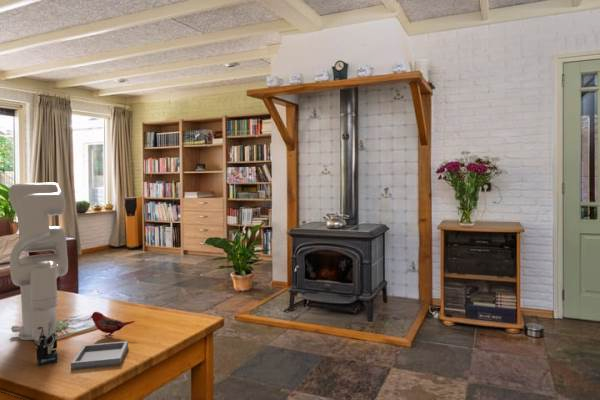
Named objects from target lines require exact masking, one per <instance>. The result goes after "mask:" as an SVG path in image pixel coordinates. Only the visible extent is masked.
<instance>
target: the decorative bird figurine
mask: <svg viewBox="0 0 600 400" xmlns="http://www.w3.org/2000/svg"><path fill="white" fill-rule="evenodd" d="M89 318H91V319H92V321H93V323H94V326H95V327H96V328H97V330H98V331H100V332H102V333H105V334H103V335H101V337H106V338H108V337H111V338H112V337H115V335H114V333H115V332H117V331H120V330H121V329H122V328H124V327H126V326H127V325H130V324H133V323H135V322H136V321H135V320H132V321H126V322H122V321H121V320H117V319H115V318H111V317H108V316H105V315H104V314H103V313H101V312H99V311H94V312H93V313H92V314H91V316H89Z"/></svg>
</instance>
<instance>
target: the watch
mask: <svg viewBox="0 0 600 400" xmlns="http://www.w3.org/2000/svg"><path fill="white" fill-rule="evenodd" d="M44 337H45V336H43V337H41V338H44ZM56 337H57V336H54V334H53V333H52V335H51V336H50V337H49V338H48V339H47V345H46V347H47V346H48V358H47V359H42V360H37V367H38V368H39V367H45V366H47V365H53V364H57V363H58V352H57V348H56V349H51V348H53V345H54V342H55V340H57V341H58V337H57V338H56ZM41 341H42V342H43V343H44V340H41Z"/></svg>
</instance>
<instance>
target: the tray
mask: <svg viewBox="0 0 600 400" xmlns="http://www.w3.org/2000/svg"><path fill="white" fill-rule="evenodd" d="M128 350H129V341H115V342H114V341H113V342H105V343H91V344H83V345H82V347H80V349H79V351H78V352H77V354H76V355H75V356H74V358H72V361H71V362H70V370H71V371H77V370H79V371H80V370H88V368H89V369H97V368H98V369H99V368H108V367H118V366H122V363H123V361H124V358H125V356H126V355H127V352H128Z"/></svg>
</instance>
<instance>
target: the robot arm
mask: <svg viewBox="0 0 600 400" xmlns="http://www.w3.org/2000/svg"><path fill="white" fill-rule="evenodd" d="M7 193H8V199H9V202H10V205H11V206H12V208H13V211H14V212H15V214H16V217H17V228H18V240H17V242H16V243H15V244H14V246H13V247H12V250H11V252H10V255H9V267H10V268H9V269H10V278H11V282H12V284H13V285H15V286H17V287H20V299H21V317H22V319H21V320H22V324H20V325H12V326H11V328H10V329H11V332H12V333H18V339H19V340H21V341H34V342H35V349H36V359H37V361H38V360H42V359H47V358H48V346H47V347H46V345H47V339H48V338H49V337H50V336H51V335H52V333H53V334H54V336H55V337H56V338H57V340H55V342H54V345H53V348H51V350H55V349H56V350H57V348H58V336H57V335H58V333H57V329H58V316H57V315H58V314H57V306H58V302H59V301H58V286H57V285H58V283H57V282H58V281H57V279H58V278H59V277H64V276H65V275H67V274H68V272H69V271H68V270H69V257H68V245H67V236H66V233H65V230H64V228H63V227H61V226H60V225H59V226H58V225H54V226H53V225H52V226H51V225H50V218H49V217H50V216H61V215H64V214H65V212H66V210H67V209H66V207H67V204H66V203H67V201H66V198H65V196H64V192H63V190H62V187H61V186H60V185H59V183H57V182H23V183H22V182H21V183H16V184H13V185H11V186H10V187H8V191H7ZM46 251H53V252H54V253H45V254H44V253H43V254H34V255H27V256H24V257H22V258H20V256H21V253H22V252H25V253H33V252H35V253H37V252H46ZM43 336H45V337H44V338H41V337H43ZM41 340H44V343H43V342H42V341H41Z"/></svg>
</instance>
